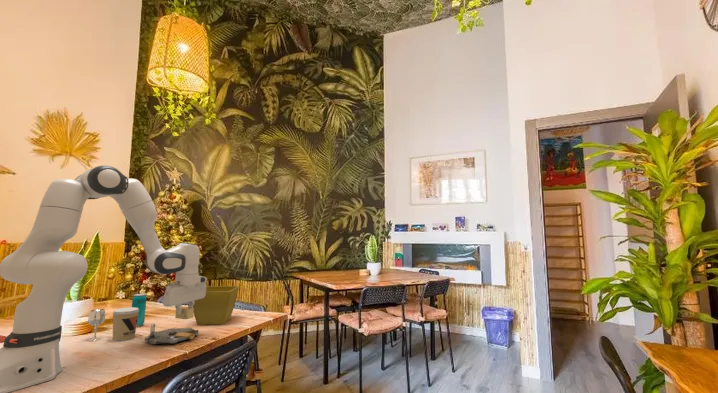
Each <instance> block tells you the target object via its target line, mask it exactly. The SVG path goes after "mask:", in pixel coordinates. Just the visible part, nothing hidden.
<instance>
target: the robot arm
mask: <svg viewBox="0 0 718 393" xmlns="http://www.w3.org/2000/svg"><path fill="white" fill-rule="evenodd" d="M107 197H110V198H112V199H113V200H114V201H116V203H117V204H118V207H119V209H120V211H121V213H122V214H123V216H124V218H125V220H126V221H127V222H128V224H129V225H130V226H131V228H132V229H133V230H134V232H135V233H136V235H137V237H138V239H139V242H140V243H141V246H142V248H143V250H144V252H145V266H146V268H147V269H148V271H150V272H151V273H155V274H160V275H170V274H174V273H175V280H174V282H170V283H168V285H167V286H166V287H165V291H164V294H163V301H162V305H163V306H164V307H167V308H170V307H175V310H176V309H177V315H181V314H183V310H182V309H181V307H183V306H182V305H183V304H185V303H188V306H187V307H190V308H193V305H194V303H195V300H198V299H202V298H204V297H205V295H206V286H207V283H206V282H207V279H208V278H207V277H206V276H202V275H199V265H200V248H199V247H200V246H198V245H197V244H196V243H190V242H185V241H183V242H180V243H179V244H177V245H175V246H173V247H171V248H168V249H165V248H164V247H163V246H162V244H161V242H160V240H159V238H158V234H157V232H156V230H155V223H156V221H157V218H158V212H157V208H156V206H155V203H154V201H153V200H152V197H151V195H150V193H149V192H148V190H147V189H146V187H145V186H144V185H143V182H141V181H140V180H138V179H137V178H128V177H127V176H126V175H125V174H123V172H121V171H120V170H119V169H118V168H116V167H114V166H110V165H98V166H95V167H93V168H91V169H88V170H86V171H83V173H82V174H80V175H79V176H77V177H76V178H75V179H71V178H57V179H55V180H53V181H52V182H51V183H50V185H49V186H48V188H47V189H46V191H45V193H44V195H43V197H42V200H41V201H40V205H39V209H38V211H37V213H36V214H37V215H36V217H35V220H34V222H33V225H32V228H31V231H30V233H29V234H28V235H27V237H25V239H24V241H23V242H22V243H21V245H20V246H18V248H17V249H16V250H15V251H13V252H12V253H10V254H8V255H7V256H5V257H4V258H3V259H2V260H1V262H0V277H1V278H2V279H3V280H5V281H8V282H10V283H13V284H18V285H32V288H31V291H30V293H29V295H28V296H27V297H26V298H25V299H23V300H22V301H20V302H19V303H18V304H17V305H16V307H15V311H14V317H13V324H12V330H11V332H10V333H9V334H8V335H7V336H5V335H0V344H2V347H0V393H11V392H15V391H18V390H21V389H25V388H29V387H31V386H35V385H39V384H42V383H45V382H49V381H51V380H54V379H56V377H57V375H58V374H60V373H61V372H62V370H63V368H62V364H61V357H60V341H61V337H62V332H63V331H62V330H63V326H62V325H61V323H62V317H63V316H62V315H63V310H64V305H65V301H66V298H67V296H68V294H69V292H70V291H71V289H72V288H73V286H75V284H76V283H78V282H79V281H81V280H82V279H83V278H84V277H85V276H86V274H87V272H88V269H89V268H88V267H89V264H88V260H87V259H86V257H85V256H84V255H82V254H80V253H76V252H72V251H68V250H60V249H61V248H62V247H63V245H64V244H65V243H67V241H69V240H70V239H72V238H73V237H74V236H76V234H77V233H78V229H79V224H80V222H81V218H82V214H83V210H84V207H85V203H86V202H87V201H88V200H97V199H101V198H107Z"/></svg>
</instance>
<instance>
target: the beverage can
mask: <svg viewBox="0 0 718 393" xmlns="http://www.w3.org/2000/svg"><path fill="white" fill-rule="evenodd" d="M146 305H147V294H146V293H136V294H133V297H132V301H131V307H135V308H138V309H139V312H138V319H137V325H136V328H141V327H143V326H144V324H145V318H146V317H145V316H146V308H147V306H146Z"/></svg>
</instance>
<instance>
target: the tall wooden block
mask: <svg viewBox="0 0 718 393" xmlns="http://www.w3.org/2000/svg"><path fill="white" fill-rule="evenodd" d="M181 309H182V310H183V314H181V315H177V309H176V308H175V319H179V320H180V319H181V320H189V319H193V318H194V308H193V307H192V308H190V307H188V306H181Z"/></svg>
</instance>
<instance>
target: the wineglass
mask: <svg viewBox="0 0 718 393" xmlns="http://www.w3.org/2000/svg"><path fill="white" fill-rule="evenodd" d="M105 321H106V311H105V309H104V308H95V309H92V310H90V311H89V314H88V317H87V323H88V325H91V326H93V327H94V328H93V330H94V335H93V337H92V338H89V339H87V341H88V342H96V341H100V340H101V339H102V337H97V330H98V326H100V325H102V324H103V323H105Z"/></svg>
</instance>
